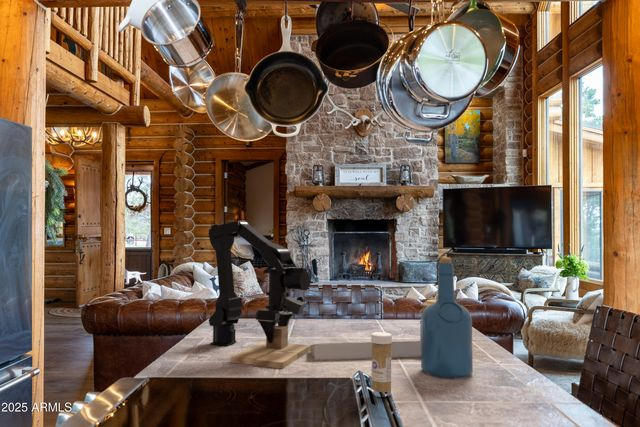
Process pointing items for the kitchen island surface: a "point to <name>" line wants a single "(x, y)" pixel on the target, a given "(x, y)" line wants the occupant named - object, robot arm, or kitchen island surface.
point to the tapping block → (279, 338)
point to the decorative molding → (363, 350)
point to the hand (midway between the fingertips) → (277, 339)
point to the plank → (251, 354)
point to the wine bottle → (446, 331)
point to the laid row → (283, 356)
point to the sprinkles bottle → (381, 361)
